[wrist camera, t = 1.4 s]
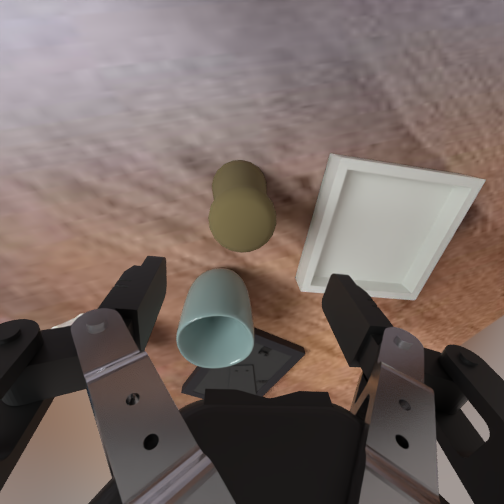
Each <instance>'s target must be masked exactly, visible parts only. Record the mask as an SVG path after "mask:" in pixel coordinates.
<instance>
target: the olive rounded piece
mask: <svg viewBox="0 0 504 504" xmlns="http://www.w3.org/2000/svg"><path fill="white" fill-rule="evenodd" d="M212 191H213V197H214V201H213V203H212V205H211V207H210V212H209V217H208V219H209V226H210V230H211V232H212V234H213V236H214V238H215V239H216V240H217V241H218V242H219V243H220V244H221V245H222V246H223V247H225V248H227V249H229V250H231V251H235V252H251V251H253V250H256V249H259V248H260V247H262V246H263V245H264V244H266V243H267V242H268V240H269V239H270V238H271V236H272V235H273V232H274V229H275V226H276V211H275V208H274V205H273V203H272V201H271V200H270V199H269V197H268V196H267V195H266V193H267V190H266V180H265V177H264V175H263V173H262V172H261V171H260V169H259V168H258V167H257V166H255V165H254V164H252V163H250V162H247V161H243V160H237V161H231V162H229V163H226V164H224V165H223V166H222V167H221V168H220V169H219V170H218V171H217V173H216V174H215V176H214V178H213V183H212Z"/></svg>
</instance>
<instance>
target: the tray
mask: <svg viewBox="0 0 504 504" xmlns="http://www.w3.org/2000/svg"><path fill="white" fill-rule="evenodd" d="M485 181H486V180H485V179H481V178H477V177H473V176H469V175H464V174H459V173H453V172H447V171H440V170H434V169H428V168H421V167H415V166H409V165H402V164H396V163H390V162H383V161H377V160H371V159H364V158H358V157H352V156H345V155H339V154H333V153H330V155H329V159H328V162H327V166H326V169H325V173H324V177H323V180H322V184H321V187H320V191H319V194H318V198H317V202H316V205H315V209H314V212H313V216H312V220H311V223H310V227H309V230H308V234H307V237H306V241H305V245H304V248H303V252H302V255H301V259H300V262H299V266H298V270H297V273H296V277H295V278H296V281H297V283H298V286H299V288H300V291H302V292H315V293H325V290H326V287H327V284H328V281H329V278H330V276H331V275H332V274H333V273H335V274H346V275H349V276H350V277H351V278H352V280H353V281H354V282H355V284H356V285H358V286H359V287H361V288H362V289H363V290H365V291H366V292H367V293H368V294H369V296H370V297H380V298H393V299H406V300H416V298H417V296H418V295H419V293H420V291H421V289H422V288H423V286H424V284H425V283H426V281H427V279H428V278H429V276H430V274H431V272H432V271H433V269H434V267H435V266H436V264H437V262H438V261H439V259H440V257H441V256H442V254H443V252H444V250H445V249H446V247H447V245H448V244H449V242H450V240H451V239H452V237H453V235H454V233H455V232H456V230H457V228H458V227H459V225H460V223H461V222H462V220H463V218H464V216H465V215H466V213H467V211H468V210H469V208H470V206H471V205H472V203H473V201H474V199H475V198H476V196H477V194H478V193H479V191H480V189H481V188H482V186H483V184H484V182H485Z"/></svg>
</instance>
